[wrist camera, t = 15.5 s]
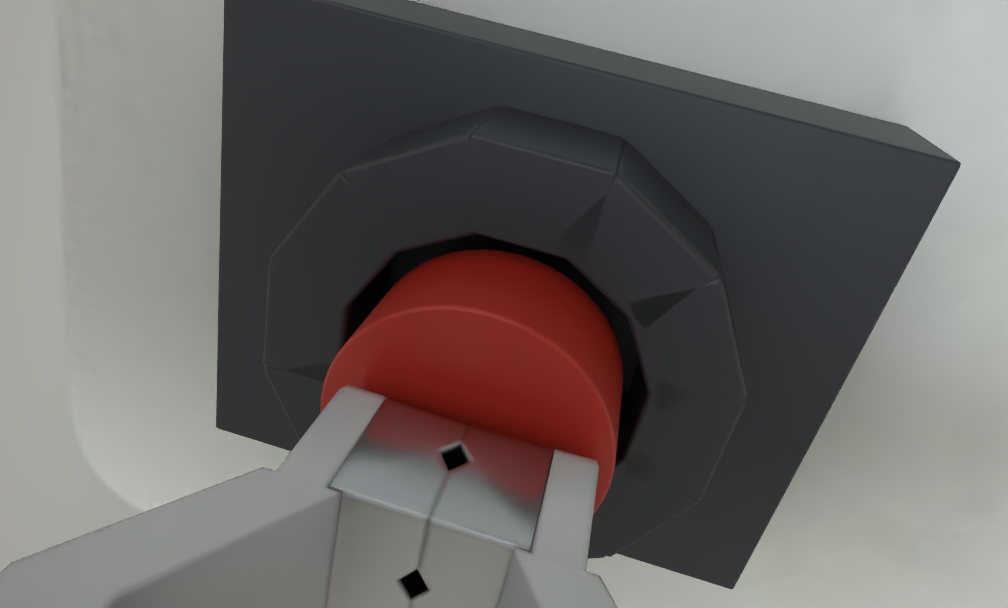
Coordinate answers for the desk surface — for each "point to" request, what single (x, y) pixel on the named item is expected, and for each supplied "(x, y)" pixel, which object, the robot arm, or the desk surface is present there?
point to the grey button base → (564, 237)
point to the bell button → (494, 353)
